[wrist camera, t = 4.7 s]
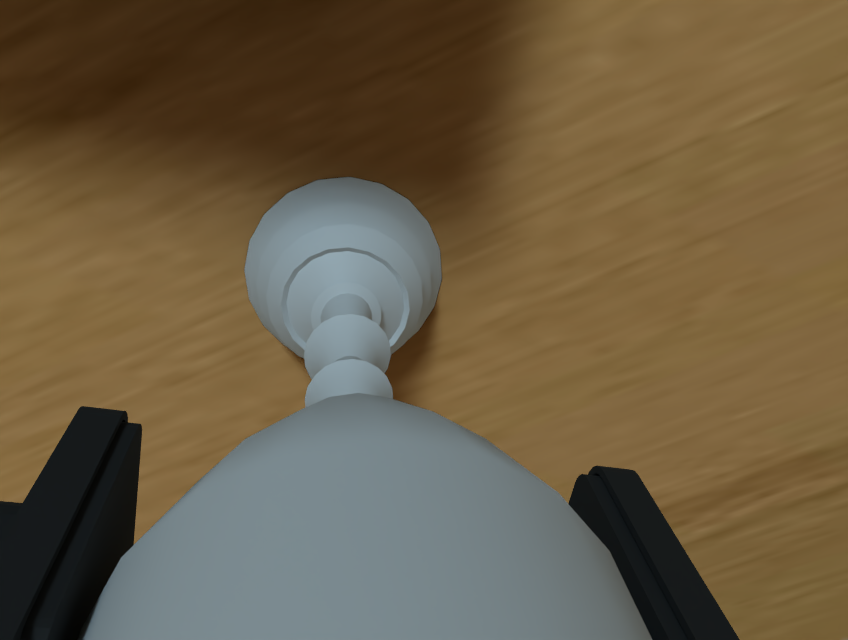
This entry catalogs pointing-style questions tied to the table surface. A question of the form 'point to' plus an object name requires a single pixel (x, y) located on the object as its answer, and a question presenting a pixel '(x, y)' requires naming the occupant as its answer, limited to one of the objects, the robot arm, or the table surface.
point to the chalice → (361, 477)
